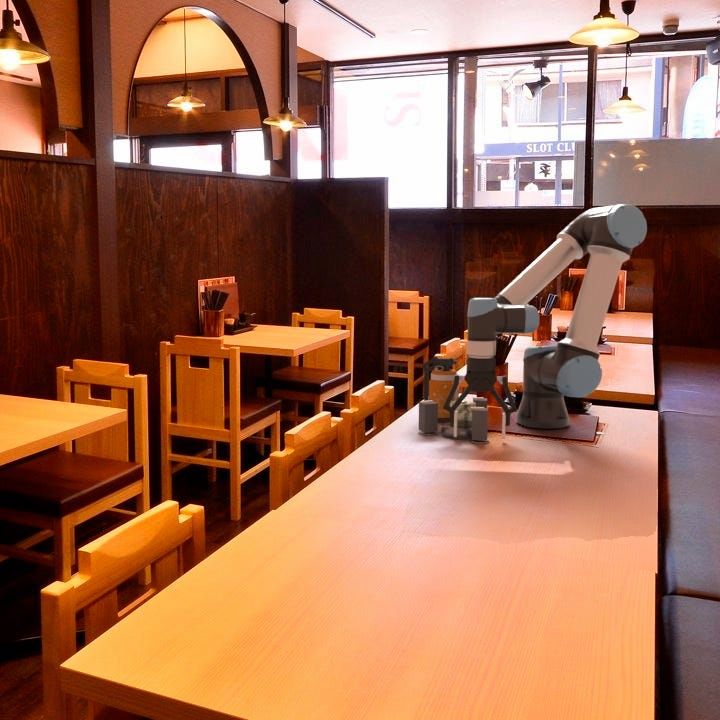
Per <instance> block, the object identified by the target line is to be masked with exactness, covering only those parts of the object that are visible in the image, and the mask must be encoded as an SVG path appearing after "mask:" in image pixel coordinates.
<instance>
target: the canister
mask: <svg viewBox="0 0 720 720" xmlns="http://www.w3.org/2000/svg"><path fill="white" fill-rule="evenodd" d="M432 363H433V364H432ZM457 363H458V360H456V359H454V357H450V358H449V357H445V358H444V357H437V356H434V357H432V358H430V360H428V361H425V362H424V363H422V364H421V367H422V369H423V374H424V375H423V401H430V400H432V401H433V402H436V403H438V424H439V425H441V424H443V423H448V422H450V412H449V411H448V410H444V409H443V406H444V404H445V402H446V399H447V397H448V395H449V393H450V391H451V389H452V386H453V384H454V378H455V375H456V374H458V372H457V370H455V369H451V367H453V366H454V365H456V364H457ZM431 364H432V365H431ZM429 365H431V366H429ZM430 372H431V373H430ZM459 396H460V383H459V384H458V387H457V389H456V391H455V394H454V396H453V398H452V400H451V402H452V401H456V400H457V399H458V398H459ZM449 406H450V404H449Z"/></svg>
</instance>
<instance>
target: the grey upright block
mask: <svg viewBox="0 0 720 720" xmlns="http://www.w3.org/2000/svg"><path fill="white" fill-rule="evenodd" d="M438 424H439V423H438V403H436V402H433V401H432V400H430V401H424V400H421V401H418V431H419V432H420V431H422V432H424V433H426V432H439V431H438V426H439V425H438Z"/></svg>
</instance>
